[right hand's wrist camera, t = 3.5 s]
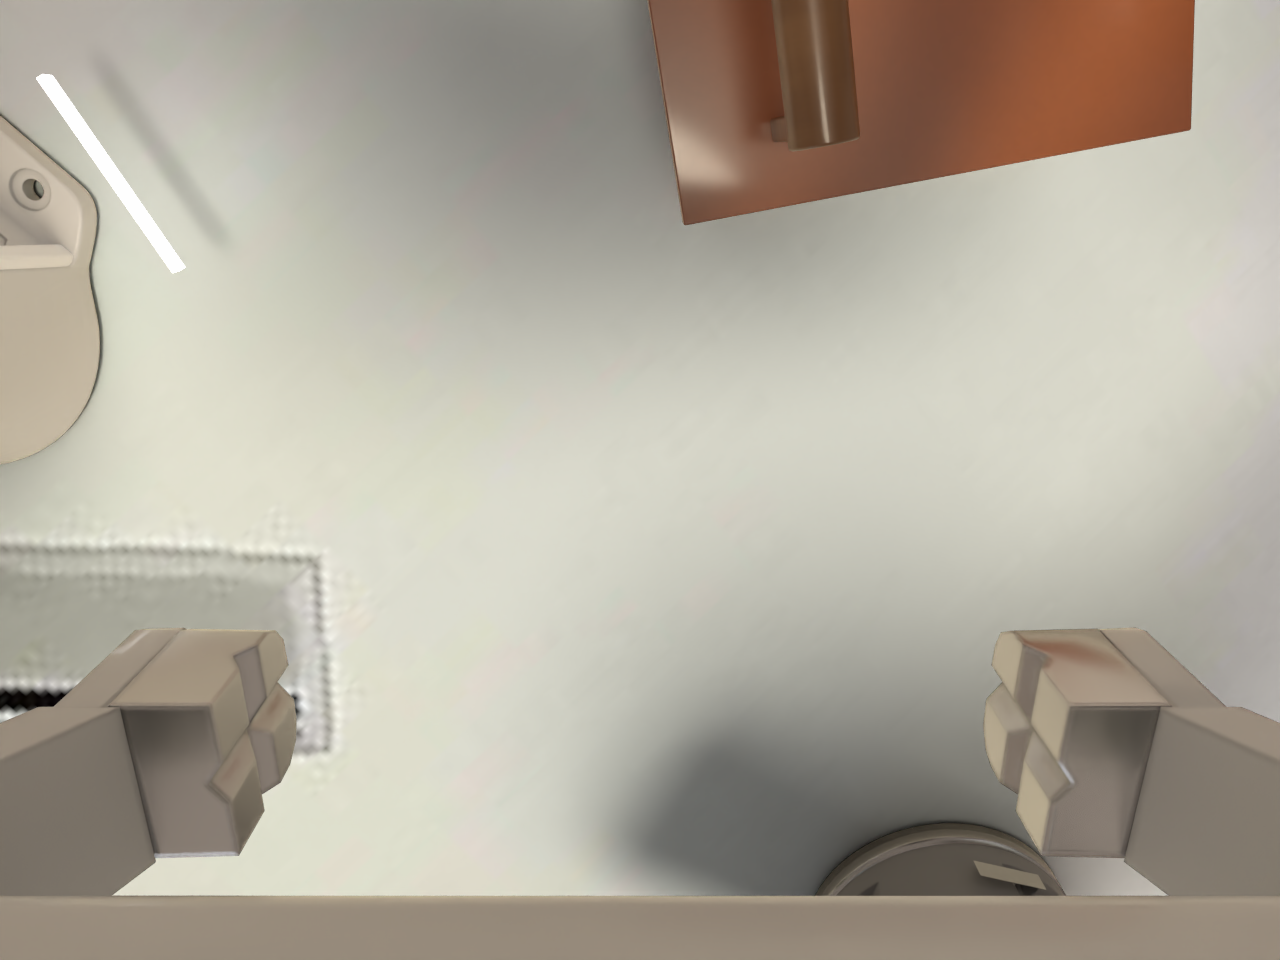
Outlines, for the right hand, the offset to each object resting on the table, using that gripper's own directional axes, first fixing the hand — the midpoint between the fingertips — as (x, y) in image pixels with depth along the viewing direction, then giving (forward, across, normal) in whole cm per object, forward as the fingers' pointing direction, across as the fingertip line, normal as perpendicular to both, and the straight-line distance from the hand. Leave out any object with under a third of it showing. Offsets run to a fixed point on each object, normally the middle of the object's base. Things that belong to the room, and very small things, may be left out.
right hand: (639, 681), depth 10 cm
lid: (+22, +9, +10) cm, 26 cm away
